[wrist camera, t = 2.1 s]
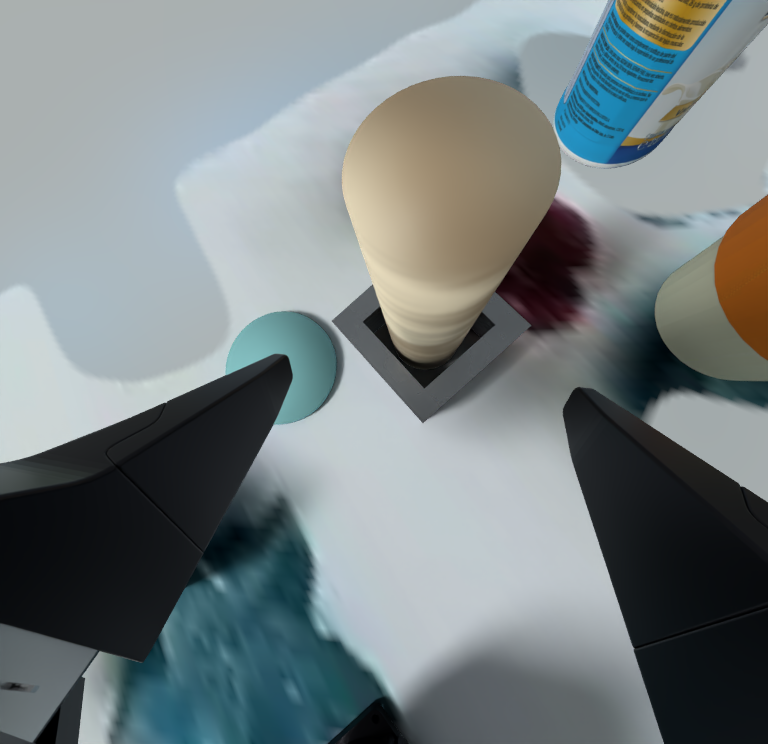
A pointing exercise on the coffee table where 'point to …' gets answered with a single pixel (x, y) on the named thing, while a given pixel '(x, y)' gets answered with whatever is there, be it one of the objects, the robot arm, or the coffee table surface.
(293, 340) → the mat
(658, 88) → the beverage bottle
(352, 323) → the socket block
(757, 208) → the reusable coffee cup
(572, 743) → the coffee table surface
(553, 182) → the plug
